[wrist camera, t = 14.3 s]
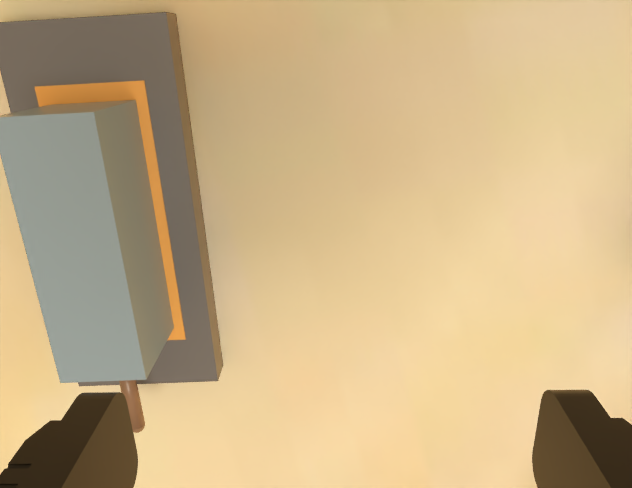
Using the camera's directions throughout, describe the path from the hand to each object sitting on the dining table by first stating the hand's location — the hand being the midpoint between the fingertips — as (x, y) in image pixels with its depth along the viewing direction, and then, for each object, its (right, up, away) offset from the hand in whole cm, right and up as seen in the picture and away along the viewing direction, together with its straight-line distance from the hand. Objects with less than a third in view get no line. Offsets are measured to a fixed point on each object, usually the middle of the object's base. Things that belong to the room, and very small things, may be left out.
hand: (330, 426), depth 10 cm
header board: (-13, +6, +25) cm, 29 cm away
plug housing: (-13, +2, +24) cm, 27 cm away
